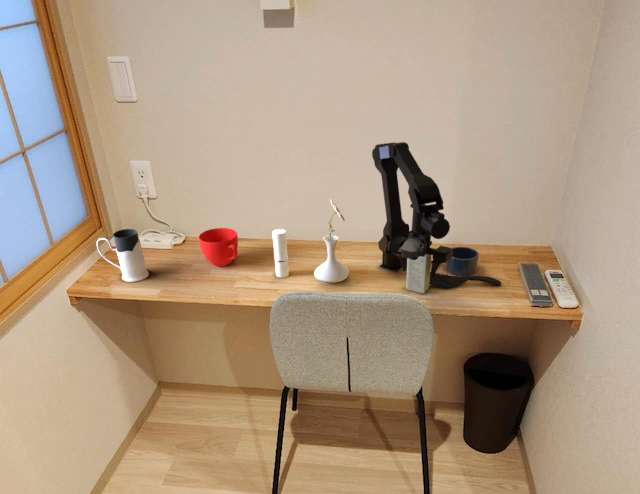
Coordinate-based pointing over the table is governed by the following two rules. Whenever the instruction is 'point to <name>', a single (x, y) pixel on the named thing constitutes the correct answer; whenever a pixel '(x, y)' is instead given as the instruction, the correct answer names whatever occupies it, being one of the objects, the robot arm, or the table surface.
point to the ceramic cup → (219, 245)
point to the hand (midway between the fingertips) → (417, 275)
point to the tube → (280, 252)
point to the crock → (463, 261)
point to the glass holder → (128, 255)
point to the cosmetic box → (418, 273)
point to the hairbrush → (459, 280)
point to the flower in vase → (331, 257)
